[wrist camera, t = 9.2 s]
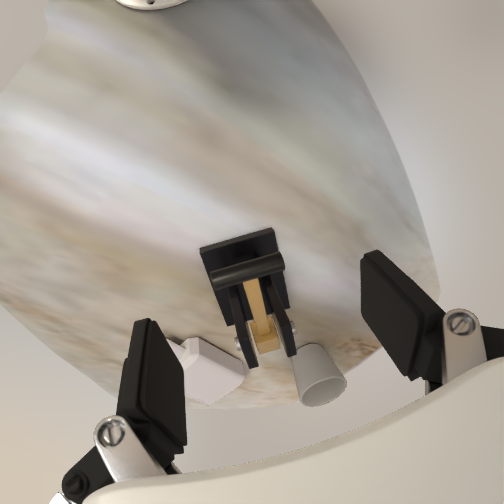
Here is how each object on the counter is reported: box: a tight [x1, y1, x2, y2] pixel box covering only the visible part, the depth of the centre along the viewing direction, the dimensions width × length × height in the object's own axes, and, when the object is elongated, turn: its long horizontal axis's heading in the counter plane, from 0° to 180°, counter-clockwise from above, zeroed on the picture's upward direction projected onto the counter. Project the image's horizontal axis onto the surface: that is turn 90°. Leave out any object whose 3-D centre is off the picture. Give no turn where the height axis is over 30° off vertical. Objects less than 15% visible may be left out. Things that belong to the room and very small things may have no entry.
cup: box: [292, 344, 347, 407], centre depth 44 cm, size 8×10×8 cm
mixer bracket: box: [200, 227, 297, 369], centre depth 33 cm, size 12×9×13 cm
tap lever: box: [210, 252, 285, 354], centre depth 25 cm, size 13×5×2 cm, turn 13°
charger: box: [166, 337, 245, 405], centre depth 41 cm, size 5×9×15 cm
